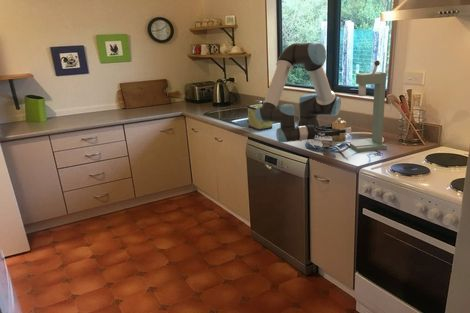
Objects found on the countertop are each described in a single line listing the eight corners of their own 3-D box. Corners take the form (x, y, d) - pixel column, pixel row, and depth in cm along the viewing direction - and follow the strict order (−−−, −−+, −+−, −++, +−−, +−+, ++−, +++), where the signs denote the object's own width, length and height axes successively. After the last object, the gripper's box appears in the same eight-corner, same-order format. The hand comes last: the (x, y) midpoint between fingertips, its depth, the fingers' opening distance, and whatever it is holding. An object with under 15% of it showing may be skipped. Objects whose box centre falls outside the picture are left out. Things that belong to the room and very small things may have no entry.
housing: (330, 139, 201) (330, 117, 197) (342, 137, 202) (342, 116, 198) (334, 142, 195) (335, 120, 191) (347, 141, 195) (348, 119, 191)
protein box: (260, 131, 249) (259, 108, 244) (248, 127, 262) (247, 105, 257) (272, 128, 253) (272, 106, 249) (260, 124, 267) (259, 103, 262)
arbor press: (345, 144, 208) (347, 60, 194) (372, 141, 210) (376, 58, 195) (357, 152, 193) (360, 62, 179) (386, 149, 194) (392, 59, 180)
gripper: (300, 134, 205) (340, 130, 207) (312, 144, 186) (355, 140, 188) (300, 121, 203) (340, 117, 205) (311, 130, 184) (356, 125, 186)
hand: (347, 128), depth 197 cm, fingers closed on housing, 7 cm apart
